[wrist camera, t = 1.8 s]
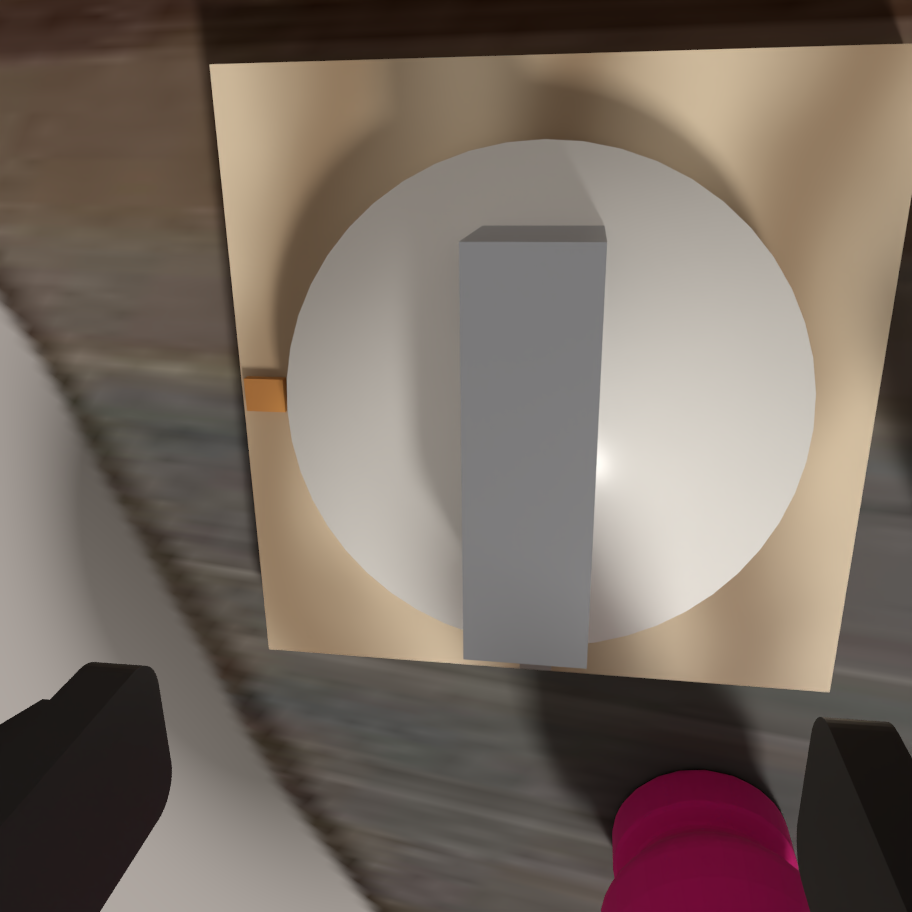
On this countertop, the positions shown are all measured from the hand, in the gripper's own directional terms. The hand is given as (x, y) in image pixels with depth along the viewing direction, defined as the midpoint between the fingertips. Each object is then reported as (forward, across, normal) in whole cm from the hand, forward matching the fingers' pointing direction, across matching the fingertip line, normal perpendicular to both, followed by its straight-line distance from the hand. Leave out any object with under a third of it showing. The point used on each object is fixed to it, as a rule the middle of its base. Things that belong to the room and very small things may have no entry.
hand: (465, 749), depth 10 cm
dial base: (+17, 0, 0) cm, 17 cm away
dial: (+15, 0, 0) cm, 15 cm away
